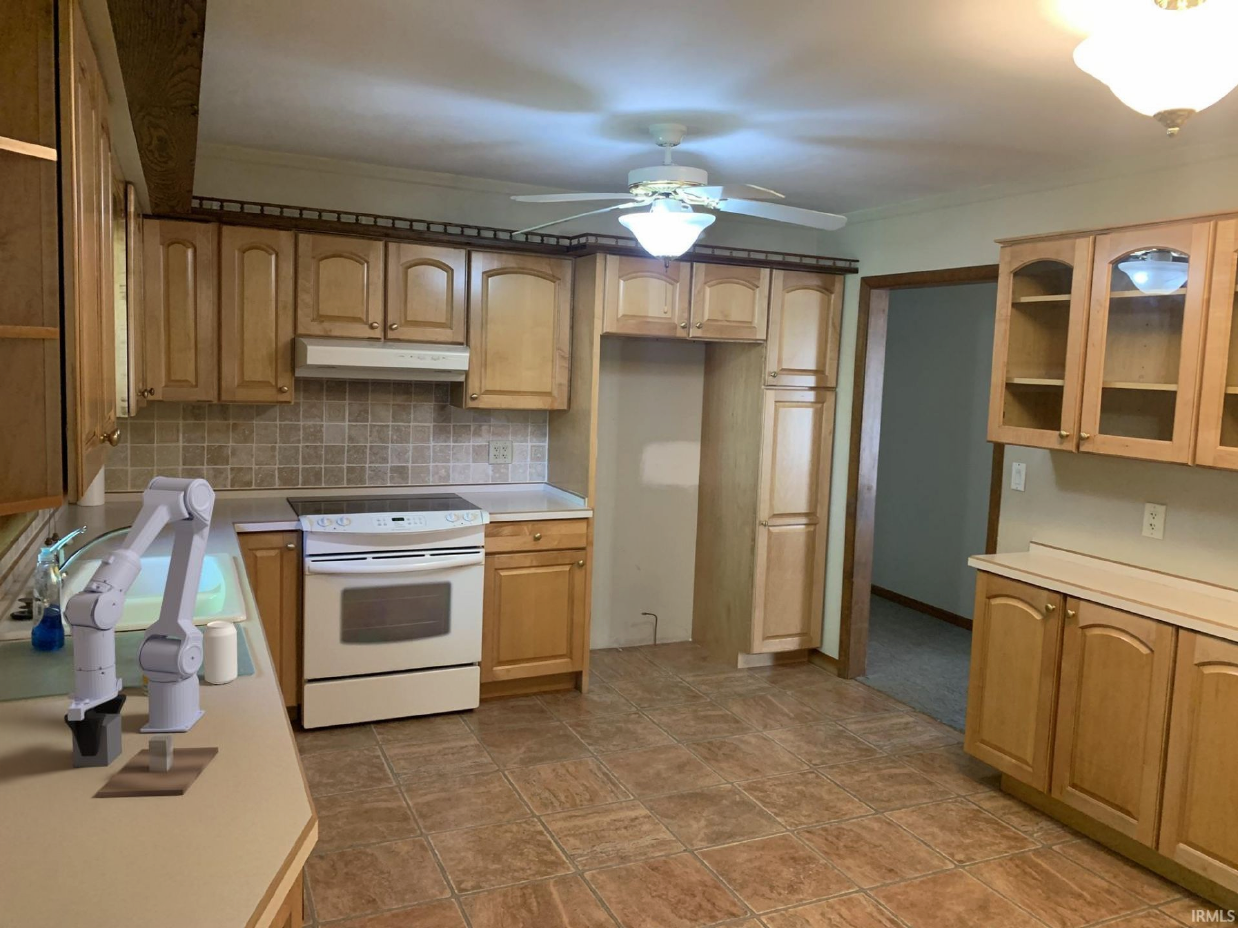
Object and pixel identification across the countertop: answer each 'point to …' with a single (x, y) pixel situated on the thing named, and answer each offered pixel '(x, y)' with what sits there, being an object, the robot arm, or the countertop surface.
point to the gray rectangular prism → (102, 744)
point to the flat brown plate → (159, 770)
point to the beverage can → (220, 652)
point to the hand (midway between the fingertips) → (97, 748)
